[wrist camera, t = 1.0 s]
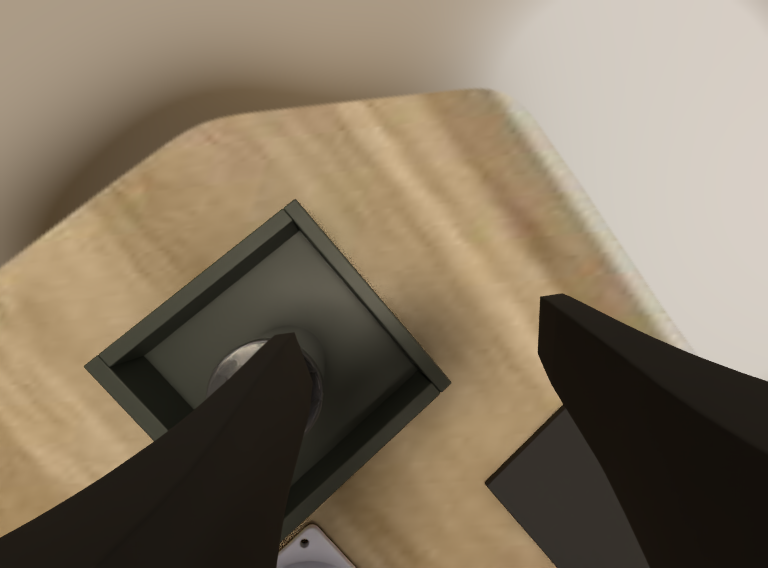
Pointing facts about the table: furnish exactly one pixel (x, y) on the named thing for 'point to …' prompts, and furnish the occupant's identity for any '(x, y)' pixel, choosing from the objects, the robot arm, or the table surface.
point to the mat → (566, 500)
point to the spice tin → (243, 353)
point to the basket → (259, 315)
